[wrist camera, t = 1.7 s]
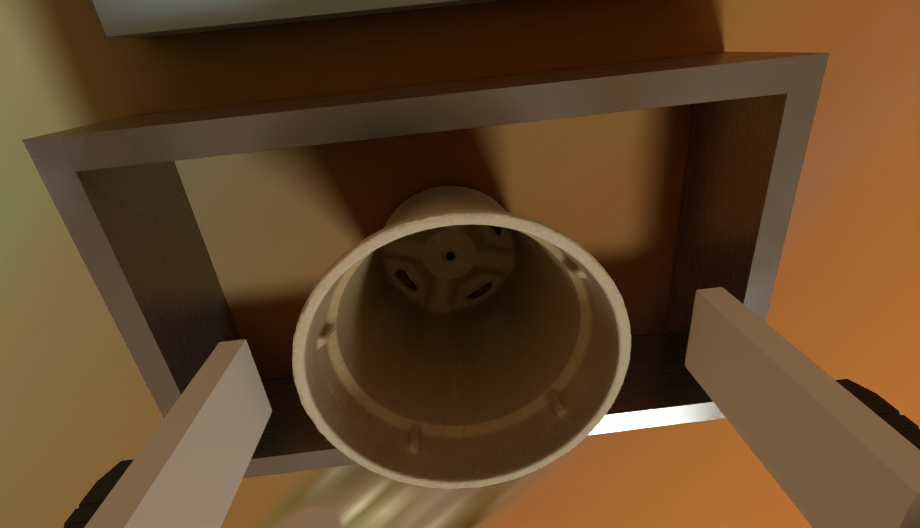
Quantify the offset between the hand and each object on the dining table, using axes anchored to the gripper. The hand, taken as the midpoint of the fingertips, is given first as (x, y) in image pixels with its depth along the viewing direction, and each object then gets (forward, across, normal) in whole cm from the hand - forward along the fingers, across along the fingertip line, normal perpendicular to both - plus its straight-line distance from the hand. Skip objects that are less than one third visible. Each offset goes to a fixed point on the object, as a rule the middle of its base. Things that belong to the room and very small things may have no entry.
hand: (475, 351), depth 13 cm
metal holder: (+8, 0, 0) cm, 8 cm away
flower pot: (+8, 0, 0) cm, 8 cm away
